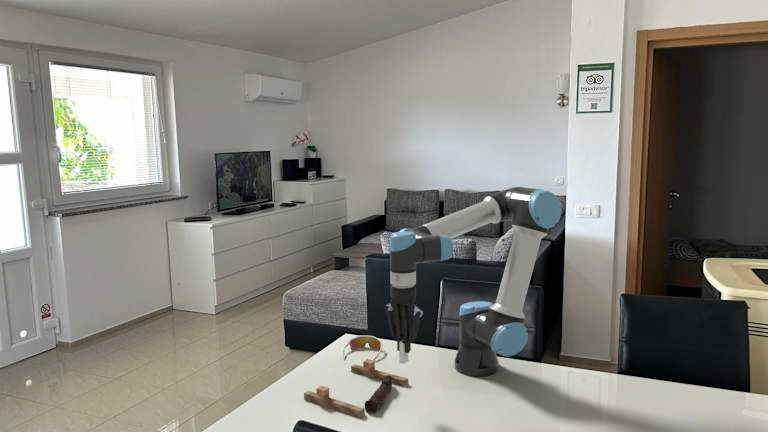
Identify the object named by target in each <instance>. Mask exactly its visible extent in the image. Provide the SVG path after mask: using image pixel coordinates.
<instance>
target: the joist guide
mask: <svg viewBox="0 0 768 432" xmlns="http://www.w3.org/2000/svg"><path fill="white" fill-rule="evenodd" d="M375 361H376V360H374V361H373V359H369V358H367V359H365V360H364V361H362V363H363V365H359V364H352V365H351V366H350V372H351V373H355V374H357V375H361V376H365V377H369V378H373V379H376V380H380V381H382V380H383V379H384V378H385V377H386V376H388V375H390V376H391V378H392V385H393V384H394V385H398V386H401V387H407V386H408V385H409V378H407V377H404V376H400V375H396V374H392V373H390V372H385V371H381V370H377V369H376V367H375V366H376V365H375V364H376V363H375ZM315 389H316V392H313V391H311V390H306V391H305V392H303V400H307V401H309V402H312V403H315V404H318V405H321V406H324V407H327V408H329V409H333V410H336V411H339V412H343V413H345V414H347V415H351V416H353V417H357V418H359V419H360V418H363V417H365V415H366V410H365V407H364V408H363V407H361V406H358V405H355V404H351V403H348V402H345V401H342V400H339V399H336V398H333V397H330V387H329V386H328V387H327V386H326V385H320V386H318V387H316V388H315Z"/></svg>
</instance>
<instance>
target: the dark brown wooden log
mask: <svg viewBox="0 0 768 432" xmlns="http://www.w3.org/2000/svg"><path fill="white" fill-rule="evenodd" d="M380 383H381V384H380V385H379V387H378V388H377V389H376V390H375V392H373V394H372V395H371V396H370V398H369V399H368V400H365V402H364V409H365V412H367V413H372V414H374V413H375V414H376V413H377V411H378V409H379V406H381V404H382V402H384V400H385V398H386V397H387V395H389V394H391V392H392V386H393V383H392V378H391V376H390V375H388V376H386V377H385V378H384V379H383V380H381V382H380Z"/></svg>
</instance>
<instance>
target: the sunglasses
mask: <svg viewBox="0 0 768 432" xmlns="http://www.w3.org/2000/svg"><path fill="white" fill-rule="evenodd" d="M366 344H368V346H369V348H370V349H374V350H377V351H378V353H377V355H376V356H375V357H374V358H373V359H372V360H373V361H376V359H377V358H378V357H379V356H380V354H381V351H382V349H383V342H382V341H381V340H380V339H379V338H378V337H376V336H374V335H366V334H365V335H364V334H363V335H357V336H355V337H353V338H350V339H349V341H348V342H347V343H346V344H345V345H344V348H343V351H342V357H343V361H344V362H345V361H346V360H345V359H346V358H345V353H344V352H345V350H346V348H347V347H349V348H350V350H354V349H359V348H362V349H363V348H365V347H366Z"/></svg>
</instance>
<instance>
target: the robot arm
mask: <svg viewBox="0 0 768 432" xmlns="http://www.w3.org/2000/svg"><path fill="white" fill-rule="evenodd" d="M561 216H562V205H561V202H560V201H559V198H558V196H557V195H556V194H554V193H553V192H552V191H549V190H546V189H541V188H532V187H531V188H529V187H523V186H515V187H509V188H506V189H503V190H500V191H498V192H496V193H493V194H490V195H488V196H485V197H484V198H483V200H482V201H480V202H478V203H476V204H473V205H471V206H468V207H465V208H463V209H461V210H458V211H456V212H453V213H450V214H448V215H445V216H442V217H441V218H437V219H434V220H432V221H430V222H428V223H426V224H422V225H420V226H416V227H415V228H410V227H405V228H401V229H400V230H399V231H396V232H392V233H391V235H390V237H389V248H388V249H389V268H390V269H389V270H390V271H389V272H390V273H389V274H390V279H389V280H390V290H389V291H390V295H389V296H390V298H391V299H390V302H389V303H387V304H385V305H384V306H383V311H384V312H385V314H386V319H387V324H388V327H389V332H390V338H393V339H395V340H396V349H397V352H399V354H398V356H399V357H398V358H399V360H398V361H399V364H403V365H404V364H406V363H408V362H409V360H410V359H409V357H410V356H409V353H410V352H411V348H412V345H411V343H412V342H414V341H416V340H417V337H418V333H419V329H420V323H421V321H422V320H421V319H422V317H423V315H424V314H425V310H423V309H420V308H419V307H418V304H417V301H416V298H417V286H416V284H417V264H425V263H433V262H442V261H447V260H449V259H451V258H452V256H453V254H454V243H453V241H452V239H454V238H456V237H459V236H461V235H464V234H466V233H468V232H471V231H474V230H476V229H479V228H481V227H483V226H486V225H488V224H490V223H492V224H495V225H496V224H499V223H501V222H507V221H508V222H509V221H511V222H512V223H511V227H512V229H513V230H514V233H513V238H512V240H511V244H510V248H509V252H508V255H507V256H508V257H507V259H506V260H507V261H506V263H505V268H504V270H503V275H502V278H501V282H500V286H499V288H498V289H499V290H498V293H497V296H496V297H497V298H496V300H495V302H494V303H493V302H490V301H484V300H483V301H468V302H466V303H463V304H462V305H461V306H460V307H459V315H458V316H459V347H458V350H457V353H456V355H455V359H454V369H455V370H456V371H457V372H459V373H461V374H463V375H467V376H473V377H474V376H475V377H485V376H490V375H494V374H495V373H497V372H498V371H499V367H500V366H499V364H500V362H499V359H498V356H497V354H499V355H500V356H503V357H512V356H516V355H517V354H518V353H520V352H521V351H522V350H523V349H524V348H525V346H526V344H527V342H528V339H529V338H528V337H529V332H528V330H527V327H526V326H525V325H524V323H525V319H526V315H525V314H524V312H523V309H524V304H525V301H526V297H527V293H528V289H529V286H530V282H531V278H532V274H533V271H534V268H535V264H536V259H537V255H538V252H539V250H540V249H539V248H540V246H541V245H540V244H541V241H542V239H543V238H545V237H546V236H548V234H549V231H550V229H551V228H553V227H555V226H556V225H557V224H558V223H559V221H560V219H561Z"/></svg>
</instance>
